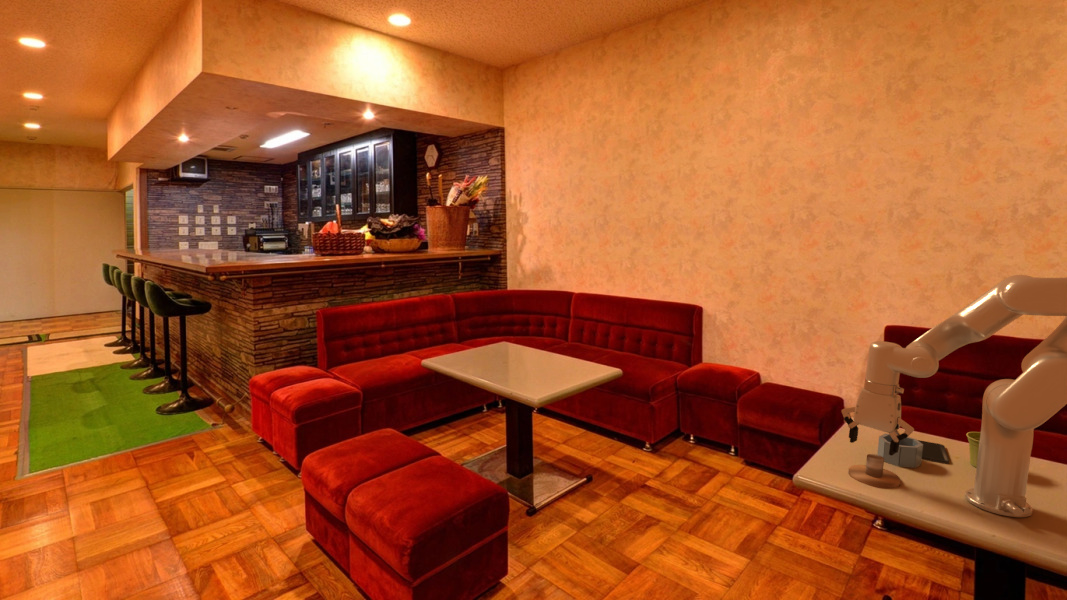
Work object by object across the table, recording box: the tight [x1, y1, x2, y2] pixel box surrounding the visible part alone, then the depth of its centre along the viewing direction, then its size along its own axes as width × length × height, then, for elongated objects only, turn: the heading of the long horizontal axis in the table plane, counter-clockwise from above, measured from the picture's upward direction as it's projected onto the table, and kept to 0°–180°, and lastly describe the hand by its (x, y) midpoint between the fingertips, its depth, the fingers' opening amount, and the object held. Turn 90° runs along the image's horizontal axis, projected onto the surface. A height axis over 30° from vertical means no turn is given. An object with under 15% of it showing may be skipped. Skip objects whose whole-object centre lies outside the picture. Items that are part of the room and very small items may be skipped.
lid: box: [847, 453, 901, 489], centre depth 146 cm, size 12×12×6 cm
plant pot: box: [965, 431, 981, 468], centre depth 153 cm, size 9×9×9 cm
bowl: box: [876, 433, 923, 469], centre depth 158 cm, size 10×10×6 cm
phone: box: [917, 439, 950, 465], centre depth 163 cm, size 8×1×15 cm
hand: (872, 447), depth 146 cm, fingers open, 9 cm apart
